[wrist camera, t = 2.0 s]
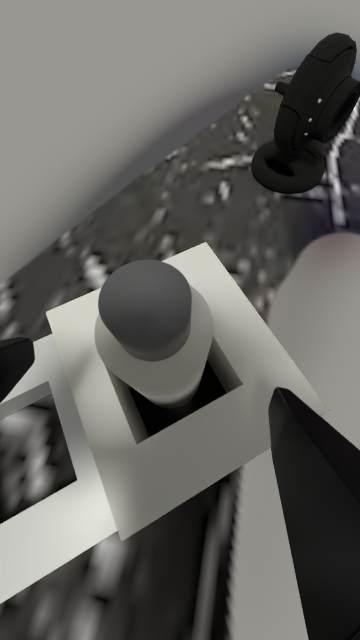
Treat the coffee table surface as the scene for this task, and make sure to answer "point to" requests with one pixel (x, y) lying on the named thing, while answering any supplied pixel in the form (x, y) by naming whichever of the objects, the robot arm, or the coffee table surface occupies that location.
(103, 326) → the plug
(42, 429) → the coffee table surface
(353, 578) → the robot arm
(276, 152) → the webcam
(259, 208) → the coffee table surface
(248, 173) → the coffee table surface
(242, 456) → the jack housing
